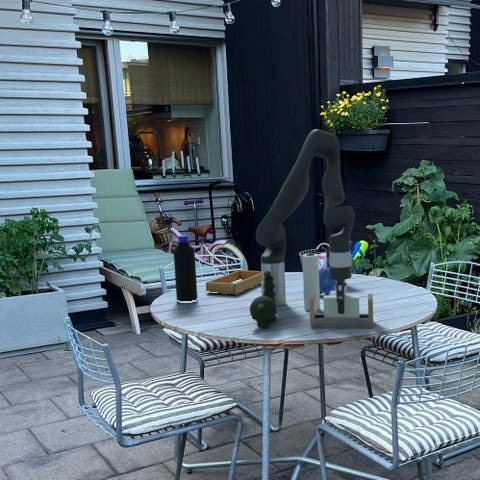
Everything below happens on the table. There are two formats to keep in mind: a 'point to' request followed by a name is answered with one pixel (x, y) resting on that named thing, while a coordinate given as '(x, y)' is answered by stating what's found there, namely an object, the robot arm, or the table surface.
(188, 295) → the bottle
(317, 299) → the paper towel roll
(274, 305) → the toy figurine
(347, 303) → the pale green rectangular block
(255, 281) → the tray
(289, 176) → the robot arm
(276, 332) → the table surface
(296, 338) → the table surface
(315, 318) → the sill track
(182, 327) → the table surface
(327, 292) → the grapes
